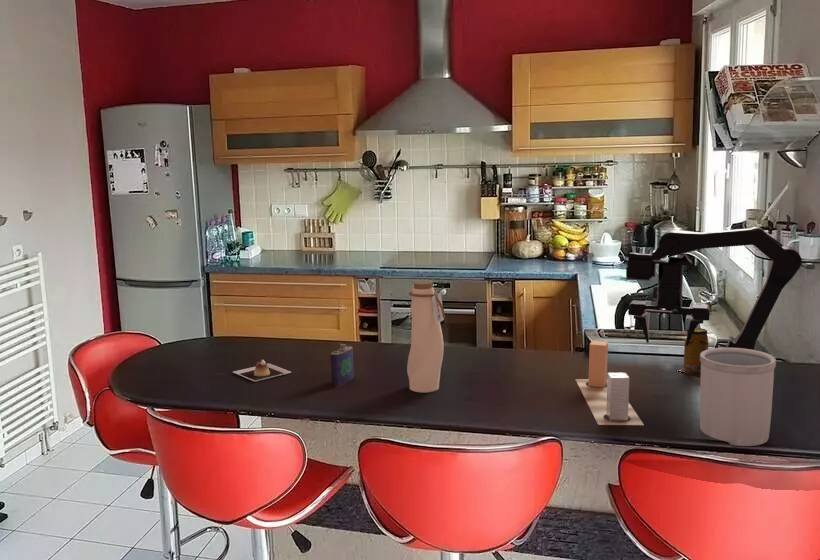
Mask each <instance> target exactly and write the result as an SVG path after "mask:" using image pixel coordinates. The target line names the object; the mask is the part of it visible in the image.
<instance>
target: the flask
mask: <svg viewBox="0 0 820 560" xmlns="http://www.w3.org/2000/svg"><path fill="white" fill-rule="evenodd" d="M339 345H340V347H339V348H338V349H337V350H333V352H330V355H329V359H330V375H331V376H330V377H331V387H332V388H340V387H342V386H345V385H347V384H348V383H350V382H351V381H353V380H354V377H355V376H354V375H355V374H354V349H353V346H347V344H343V343H339Z"/></svg>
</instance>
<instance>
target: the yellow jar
mask: <svg viewBox="0 0 820 560" xmlns="http://www.w3.org/2000/svg"><path fill="white" fill-rule="evenodd" d="M688 330H689V328H687V330H686V337H685V338H684V346H683V347H684V350H683V352H684V353H683V367H682V368H683V369H684V371H685V372H686V373H687V374H686V375H691V376H695V377H700V378H701V361H700V354H701V352H703V351H705V350H709V340H708V329H705V328H701V327H696V329H695V331H694V332H693V334H692V337H691V339H690V342H689V344H688V346H686V339H687V334H688ZM678 370H679V371H681V370H682V369H678Z"/></svg>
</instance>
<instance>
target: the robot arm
mask: <svg viewBox="0 0 820 560" xmlns="http://www.w3.org/2000/svg"><path fill="white" fill-rule="evenodd" d="M742 246H754V247H755V248H756V249H758V250H759V251H760V252H762V254H764V256H766V257H767V258H769V259H770V262H769V266H768V271H767V276H766V280H765V282H764V284H763V287H762V289H761V290H760V292H759V294H758V297H757V299H756V301H755V302H754V305H753V306H752V308H751V310H750V313H749V315H748V316H747V319H746V320H745V323H744V325H743V326H742V329H741V330H740V332H739V333H738V335H736V337H733V336H732V335H729V336H728V340H727V343H726V345H725V347H723V348H743V349H751V350H755V346H756V343H757V340H758V337H759V335H760V334H761V332H762V330H763V328H764V326H765V324H766V322H767V320H768V318H769V316H770V314H771V312H772V311H773V309H774V306H775V304H776V302H777V300H778V299H779V296H780V294H781V292H782V290H783V289H784V288H785V287H786V286H787V285H788V284H789V283H790V281H791V280H792V279H793V278H794V276H795V275H796V274H797V273H798V271H799V270H800V269H801V267H802V264H803V260H802V256H801V254H800V253H799V251H798V250H797V249H796V248H795V247H793V246H791V245H784V244H782V243H781V242H779V240H777V239H775V238H774V237H773V236H771V235H770V234H768V233H767V232H766V231H765V230H764V229H763V228H762V227H760V226H753V227H750V228H737V229H736V228H735V229H725V230H715V231H703V232H702V231H700V232H699V231H691V230H680V229H670V230H668V231H665V232H664V234H662V236H661V237H660V239H659V241H658V247H657V248H656V249H653V251H652V253H638V252H629V253H628V258H627V266H626V268H625V269H626V270H625V278H626V280H627V281H644V282H651V280H652V279H653V278H656V276H657V275H658V277H657V286H653V290H652V300H653V301H656V304H655V305H654V304H648V301H647V300H632V301H631V302H630V303H629V304H628V307H627V309H628V313H627V314H628V315H629V316H633V319H634V320H637V321H638V323H639V326H640V327H641V330H642V332H643V335H644V338H645V341H646V343H647V344H649V342H650V331H649V330H650V329H649V313H653V314H665V315H666V314H669V315H681V316H682V315H683V316H690V321H689V324H688V325H689V326H688V329H689V330H688V334H687V333H686V335H687V336H686V338H687V339H686V338H685V339H686V346H688V344H689V342H690V339H691V337H692V334H693V332H694V331H695V329H696V328H698V326H699V325H700V324H704V321H705V322H706V321H710V316H711V315H710V314H711V313H710V312H711V307H710V306H709V305H708V304H698V303H697V304H696V303H694V304H692V307H688V306H687V307H685V306H683V297H684V296H683V285H684V284H683V283H684V282H683V281H684V280H683V279H684V266H691V265H692V264H693V261H692V259H690V258H689V257H688V256H687V253H691V252H694V251H698V250H703V249H713V248H714V249H715V248H728V247H742ZM679 255H683V256H681V257H680V256H679ZM667 256H668V259H665V260H664V258H665V257H667ZM678 256H679V257H678ZM662 259H663V260H662ZM657 265H658V271H657ZM657 273H658V274H657ZM656 274H657V275H656Z"/></svg>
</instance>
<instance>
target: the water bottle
mask: <svg viewBox="0 0 820 560" xmlns="http://www.w3.org/2000/svg"><path fill="white" fill-rule="evenodd" d="M433 285H434V284H433V281H429V280H418V281H417V280H416V281H413V286H412V289H411V290H410V291H409V292H408V295H409V296H411V302H410V314H411V331H410V332H411V335H410V338H411V340H410V342H411V343H410V350H409V353H408V357H407V367H406V372H407V377H408V382H409V390H410V391H413V392H416V393H421V394H423V393H424V394H425V393H432V392H436V391H438V390H439V389H440V378H441V368H442V364H443V359H444V347H445V346H444V338H443V337H444V335H443V331H442V330H443V329H442V326H441V322H442V321H445V318H446V313H445V309H444V307H443V297H442V292H439V293H438V292H437V291H436V290H435V289H434V286H433Z"/></svg>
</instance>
